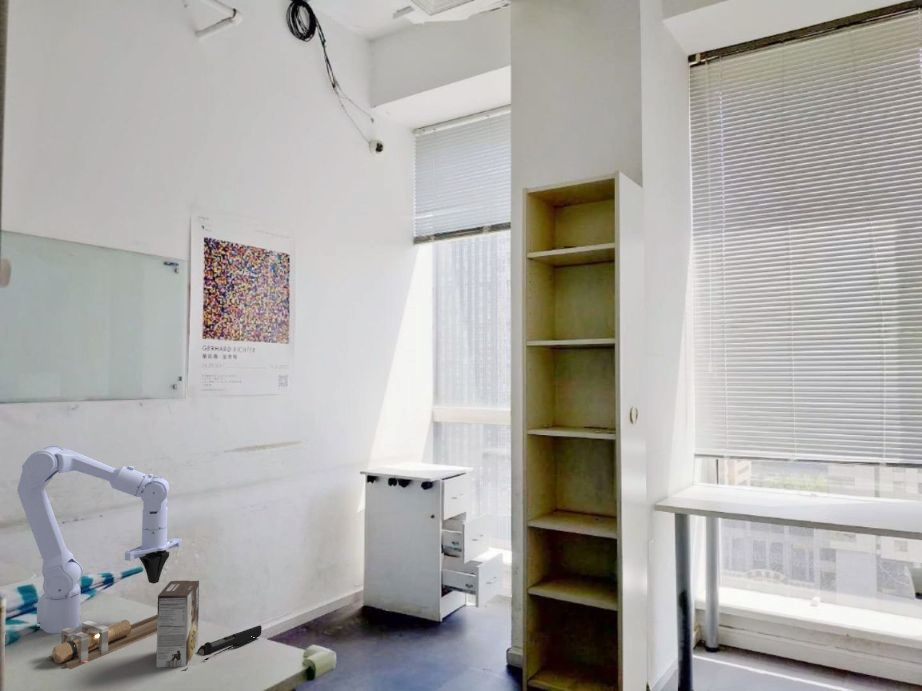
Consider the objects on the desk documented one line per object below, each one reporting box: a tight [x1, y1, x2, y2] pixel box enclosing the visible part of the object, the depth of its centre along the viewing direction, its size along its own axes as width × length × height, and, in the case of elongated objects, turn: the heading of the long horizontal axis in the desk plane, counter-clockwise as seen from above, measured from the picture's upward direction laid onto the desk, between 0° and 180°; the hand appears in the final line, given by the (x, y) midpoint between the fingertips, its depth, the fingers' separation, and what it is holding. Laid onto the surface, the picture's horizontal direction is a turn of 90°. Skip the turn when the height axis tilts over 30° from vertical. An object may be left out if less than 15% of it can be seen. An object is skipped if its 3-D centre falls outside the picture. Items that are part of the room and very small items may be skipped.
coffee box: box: [155, 580, 200, 672], centre depth 140 cm, size 9×6×16 cm
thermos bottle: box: [52, 619, 132, 665], centre depth 144 cm, size 16×4×4 cm, turn 154°
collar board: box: [45, 614, 157, 670], centre depth 148 cm, size 9×26×6 cm, turn 152°
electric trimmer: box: [196, 624, 263, 662], centre depth 148 cm, size 4×16×3 cm, turn 141°
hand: (153, 582), depth 161 cm, fingers closed
